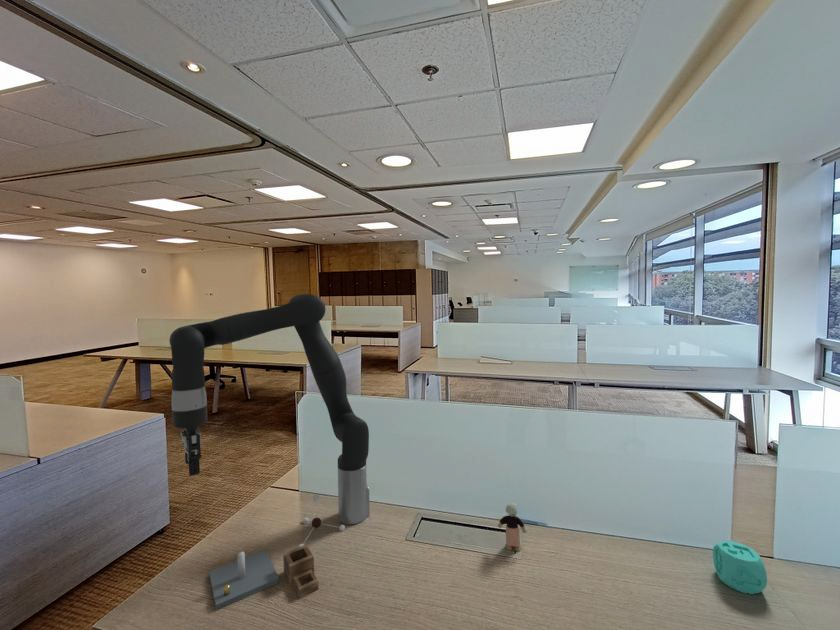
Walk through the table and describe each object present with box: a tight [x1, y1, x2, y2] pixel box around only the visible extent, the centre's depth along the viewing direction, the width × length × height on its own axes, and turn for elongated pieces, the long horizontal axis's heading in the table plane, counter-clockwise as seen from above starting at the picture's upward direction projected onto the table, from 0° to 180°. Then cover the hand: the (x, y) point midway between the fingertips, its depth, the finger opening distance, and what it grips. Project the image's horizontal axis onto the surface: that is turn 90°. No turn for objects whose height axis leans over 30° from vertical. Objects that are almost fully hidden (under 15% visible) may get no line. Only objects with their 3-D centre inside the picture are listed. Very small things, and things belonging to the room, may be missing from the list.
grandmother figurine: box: [497, 502, 527, 552], centre depth 105 cm, size 8×4×13 cm, turn 84°
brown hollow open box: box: [282, 544, 319, 599], centre depth 94 cm, size 6×11×5 cm, turn 36°
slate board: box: [208, 549, 280, 611], centre depth 94 cm, size 14×13×7 cm
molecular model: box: [297, 493, 346, 548], centre depth 113 cm, size 13×15×13 cm
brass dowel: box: [224, 584, 230, 596], centre depth 88 cm, size 1×1×2 cm
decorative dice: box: [712, 540, 768, 595], centre depth 92 cm, size 8×8×8 cm
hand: (192, 468), depth 94 cm, fingers open, 8 cm apart
